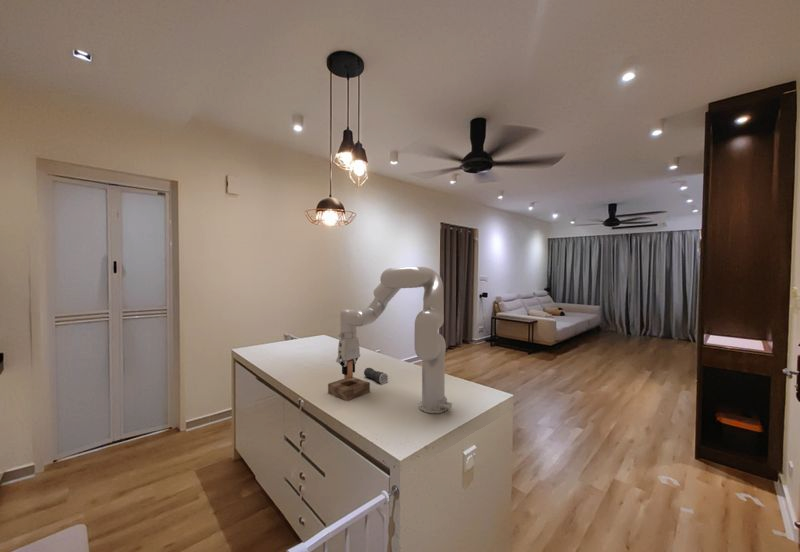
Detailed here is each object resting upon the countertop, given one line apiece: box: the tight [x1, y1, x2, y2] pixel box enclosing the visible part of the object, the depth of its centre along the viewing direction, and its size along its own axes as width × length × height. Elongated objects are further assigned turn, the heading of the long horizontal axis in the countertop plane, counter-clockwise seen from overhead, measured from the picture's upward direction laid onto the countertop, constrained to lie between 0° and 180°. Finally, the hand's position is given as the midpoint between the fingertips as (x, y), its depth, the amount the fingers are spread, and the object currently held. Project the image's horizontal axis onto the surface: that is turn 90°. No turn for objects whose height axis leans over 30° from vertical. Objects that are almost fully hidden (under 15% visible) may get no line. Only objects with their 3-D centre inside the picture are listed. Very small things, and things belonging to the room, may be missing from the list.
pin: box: [343, 360, 354, 379], centre depth 149 cm, size 4×4×8 cm
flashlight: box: [363, 367, 389, 385], centre depth 166 cm, size 15×5×5 cm, turn 41°
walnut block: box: [327, 376, 371, 402], centre depth 149 cm, size 14×14×4 cm
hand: (348, 372), depth 149 cm, fingers closed on pin, 4 cm apart
